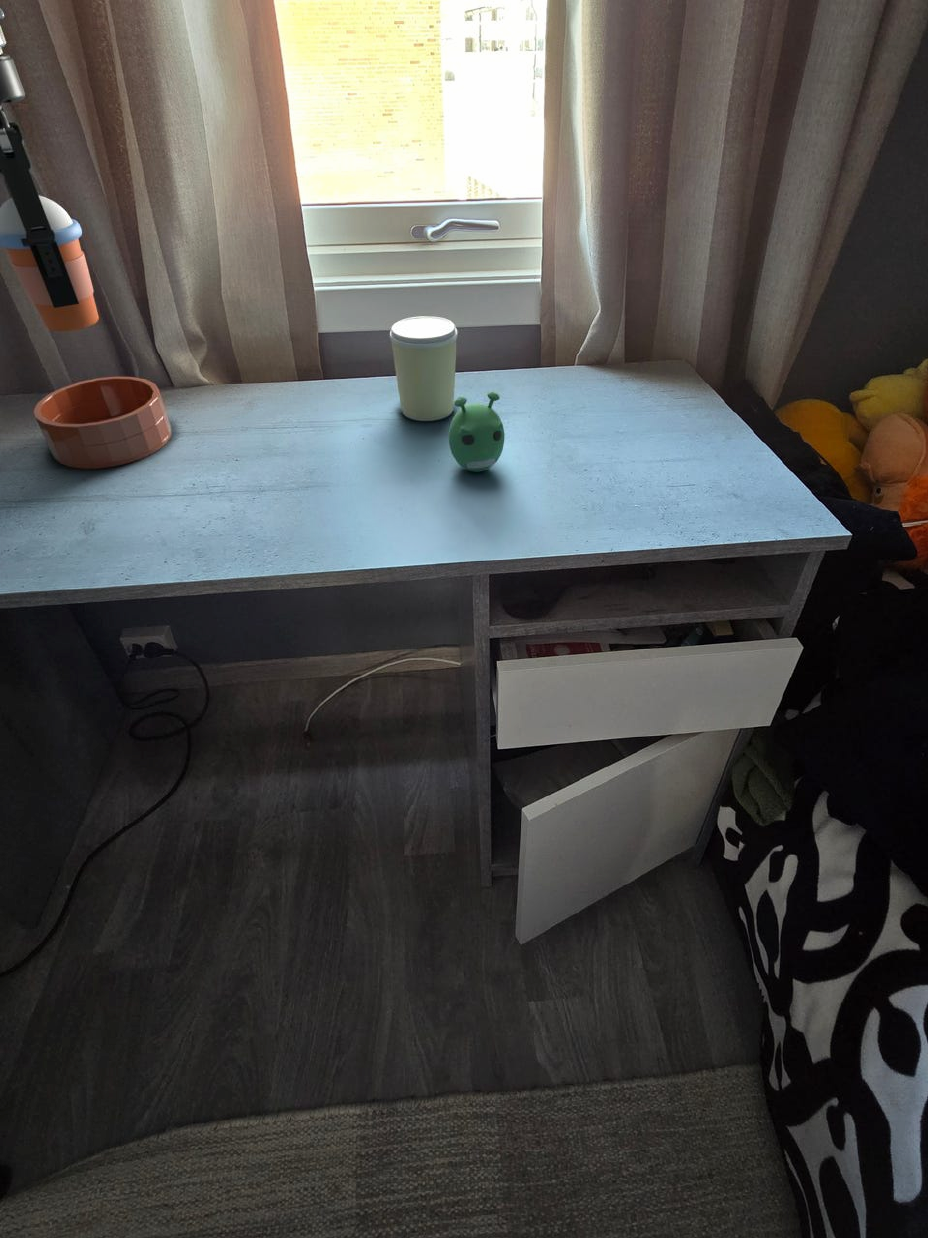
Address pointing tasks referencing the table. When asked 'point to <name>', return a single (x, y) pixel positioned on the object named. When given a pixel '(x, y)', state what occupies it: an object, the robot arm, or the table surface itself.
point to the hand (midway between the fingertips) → (60, 293)
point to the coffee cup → (425, 366)
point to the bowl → (104, 422)
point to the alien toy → (476, 434)
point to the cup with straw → (7, 232)
